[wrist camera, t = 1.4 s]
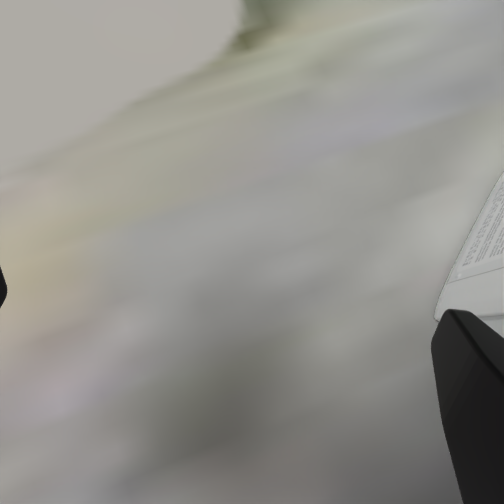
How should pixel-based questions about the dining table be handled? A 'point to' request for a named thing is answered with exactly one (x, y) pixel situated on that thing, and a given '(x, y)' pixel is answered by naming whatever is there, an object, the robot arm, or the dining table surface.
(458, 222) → the dining table surface
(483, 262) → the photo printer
